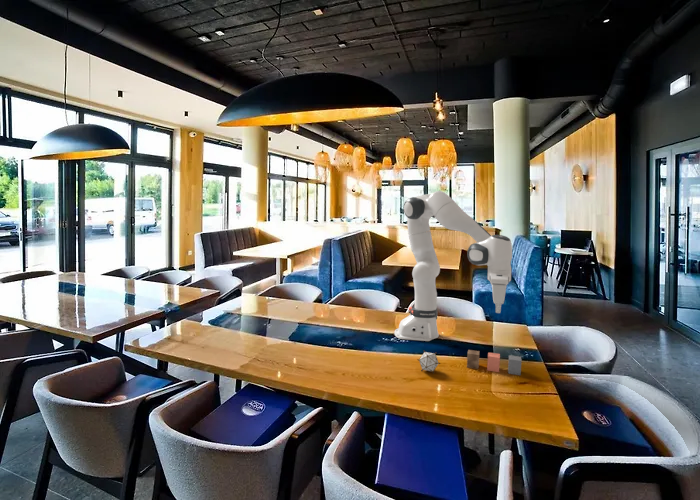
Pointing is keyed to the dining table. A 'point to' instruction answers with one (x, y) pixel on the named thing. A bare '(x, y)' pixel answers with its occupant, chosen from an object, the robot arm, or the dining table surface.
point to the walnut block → (473, 359)
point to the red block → (493, 362)
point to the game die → (428, 361)
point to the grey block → (514, 365)
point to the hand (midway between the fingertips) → (497, 309)
